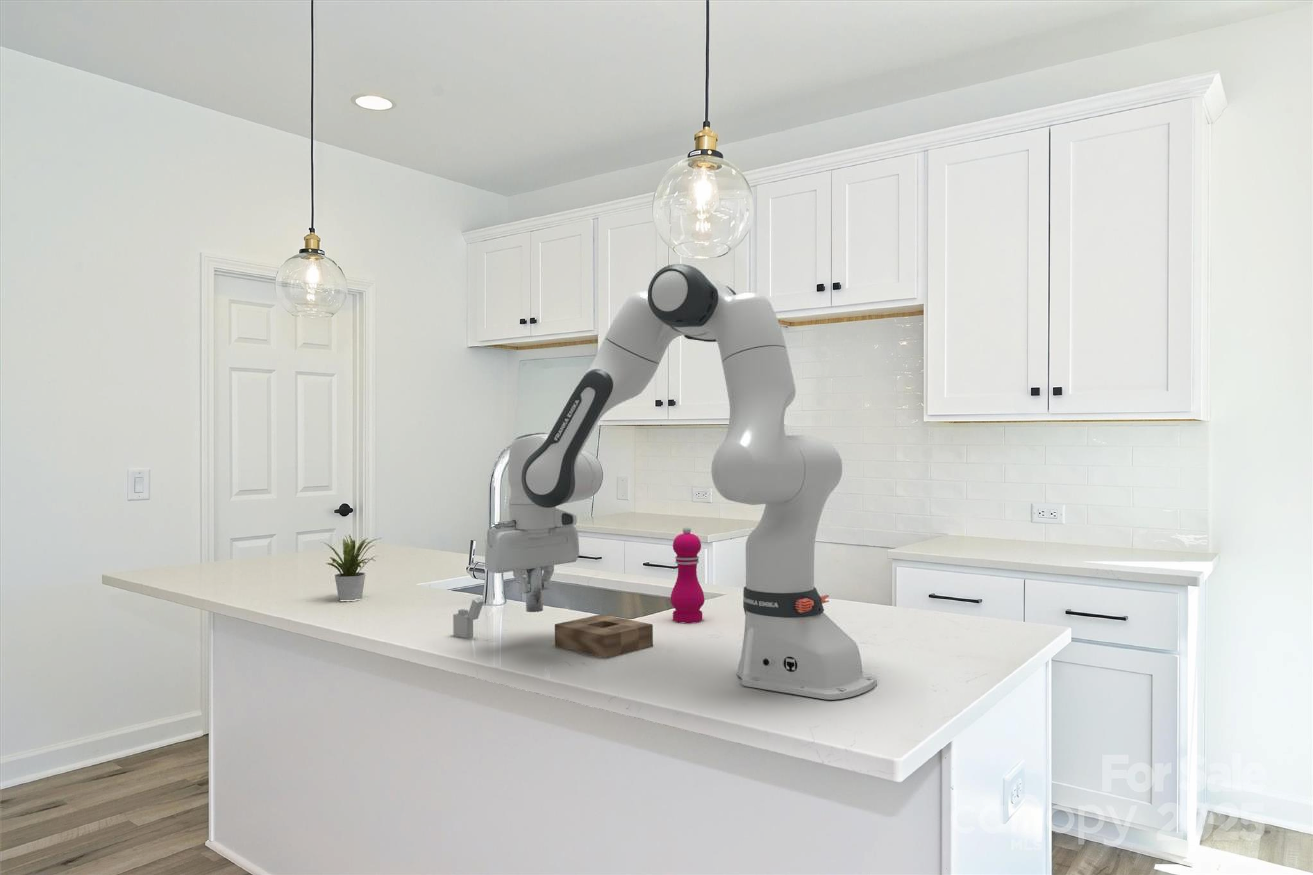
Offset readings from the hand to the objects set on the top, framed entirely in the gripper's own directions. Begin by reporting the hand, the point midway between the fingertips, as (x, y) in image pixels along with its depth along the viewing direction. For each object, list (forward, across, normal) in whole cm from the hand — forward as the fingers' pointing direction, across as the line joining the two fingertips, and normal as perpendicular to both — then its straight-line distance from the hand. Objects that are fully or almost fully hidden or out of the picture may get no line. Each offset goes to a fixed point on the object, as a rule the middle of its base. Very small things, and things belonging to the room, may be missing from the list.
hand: (534, 591), depth 163 cm
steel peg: (+4, 0, 0) cm, 4 cm away
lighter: (+10, -6, +14) cm, 18 cm away
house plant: (+9, -1, +68) cm, 68 cm away
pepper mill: (+10, +34, -8) cm, 37 cm away
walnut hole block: (+10, +7, -11) cm, 17 cm away
